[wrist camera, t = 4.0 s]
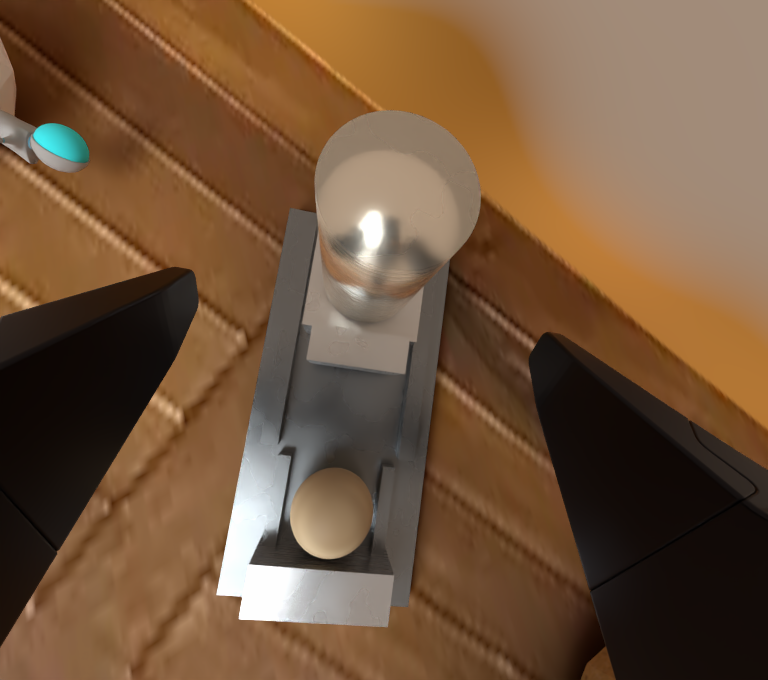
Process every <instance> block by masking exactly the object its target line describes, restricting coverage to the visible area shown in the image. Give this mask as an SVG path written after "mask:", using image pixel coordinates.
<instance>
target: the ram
mask: <svg viewBox="0 0 768 680" xmlns="http://www.w3.org/2000/svg"><path fill="white" fill-rule="evenodd" d="M315 197H316V208H317V219H318V236H317V242H316V247H315V253H314V259H313V264H312V270H311V276H310V281H309V287H308V293H307V298H306V304H305V310H304V315H303V321H302V325H303V327H304V329H305V330H306V332H307V333H308V334H311V335H310V341H309V347H308V353H307V358H306V360H308V361H309V362H310V363H313V364H319V365H326V366H333V367H340V368H346V369H353V370H360V371H367V372H373V373H380V374H387V375H401V374H405V372H406V364H407V357H408V349H409V346H410V345H412V344H414V343H416V342H417V335H418V327H419V319H420V312H421V304H422V296H423V289H424V285H425V284H426V283H427V282H428V281H429V280H430V279H431V278H432V277H433V276H434V275H435V274H436V273H437V272H438V271H439V270H440V269H441V268H442V267H443V266H444V265H445V264H446V262H447V261H448V260H449V259H450V258H451V257H452V256H453V255H454V254H455V253H456V252H457V251H458V250H459V249H460V248H461V247H462V246H463V245H464V243H465V242H466V241H467V239H468V238H469V237H470V235H471V233H472V231H473V229H474V227H475V225H476V222H477V219H478V216H479V211H480V205H481V191H480V183H479V179H478V175H477V172H476V169H475V166H474V164H473V162H472V160H471V158H470V156H469V155H468V153H467V152H466V150H465V149H464V147H463V146H462V145H461V144H460V143H459V141H458V140H457V139H456V138H455V137H454V136H453V135H452V134H451V133H450V132H448V131H447V130H446V129H444V128H443V127H442V126H440V125H438V124H437V123H435V122H433V121H432V120H430V119H427V118H425V117H423V116H420V115H417V114H413V113H409V112H404V111H393V110H390V111H389V110H387V111H377V112H372V113H368V114H365V115H362V116H359V117H357V118H355V119H353V120H351V121H349V122H348V123H346V124H345V125H343V126H342V127H341V128H340V129H339V130H337V131H336V132H335V133H334V134H333V136H332V137H331V138H330V139H329V140H328V142H327V143H326V145H325V147H324V148H323V150H322V152H321V155H320V157H319V159H318V163H317V167H316V172H315Z"/></svg>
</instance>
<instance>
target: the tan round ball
mask: <svg viewBox="0 0 768 680" xmlns="http://www.w3.org/2000/svg"><path fill="white" fill-rule="evenodd" d="M372 518H373V502H372V498H371V494H370V492H369V490H368V488H367V486H366V484H365V483H364V482H363V480H362V479H361V478H360V477H358V476H357V475H356V474H354V473H353V472H351V471H349V470H346V469H343V468H326V469H322V470H320V471H317V472H315V473H314V474H312V475H311V476H309V477H308V478H307V479H306V480H305V481H304V482H303V483H302V484H301V485H300V487H299V488H298V490H297V492H296V493H295V496H294V498H293V501H292V504H291V510H290V523H291V527H292V531H293V534H294V536H295V538H296V540H297V542H298V543H299V544H300V546H301V547H302V548H303V549H304V550H305V551H307V552H308V553H309V554H311V555H313V556H316V557H318V558H323V559H335V558H340V557H343V556H345V555H347V554H349V553H351V552H352V551H354V550H355V549H356V548H357V547H358V546H359V545H360V544H361V543H362V542H363V540H364V539H365V537H366V536H367V534H368V532H369V529H370V527H371V523H372Z"/></svg>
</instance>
